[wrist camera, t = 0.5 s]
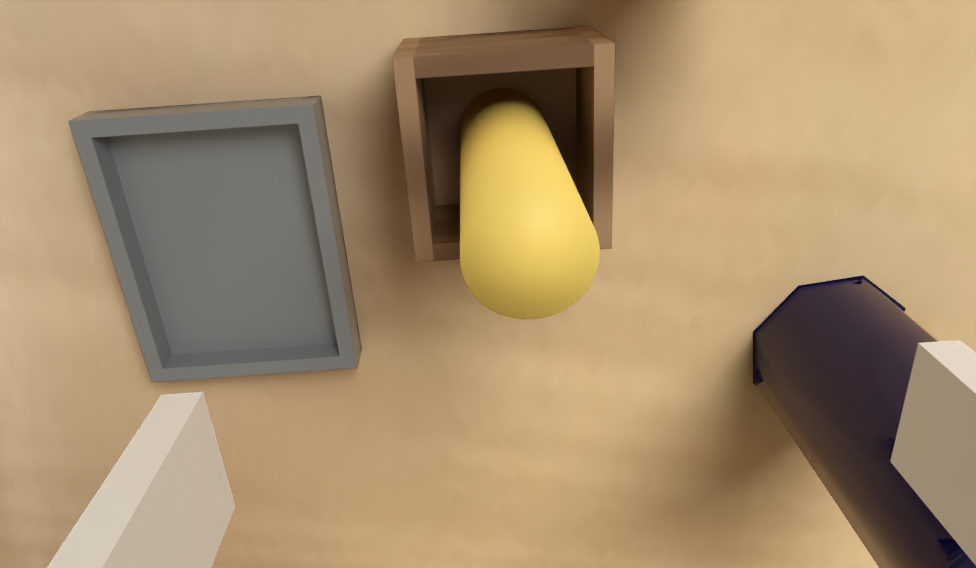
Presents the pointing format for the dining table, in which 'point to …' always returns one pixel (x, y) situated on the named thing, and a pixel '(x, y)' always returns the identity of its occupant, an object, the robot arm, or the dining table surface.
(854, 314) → the bottle
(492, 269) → the dowel
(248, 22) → the dining table surface
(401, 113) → the holder
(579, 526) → the dining table surface
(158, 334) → the tray
